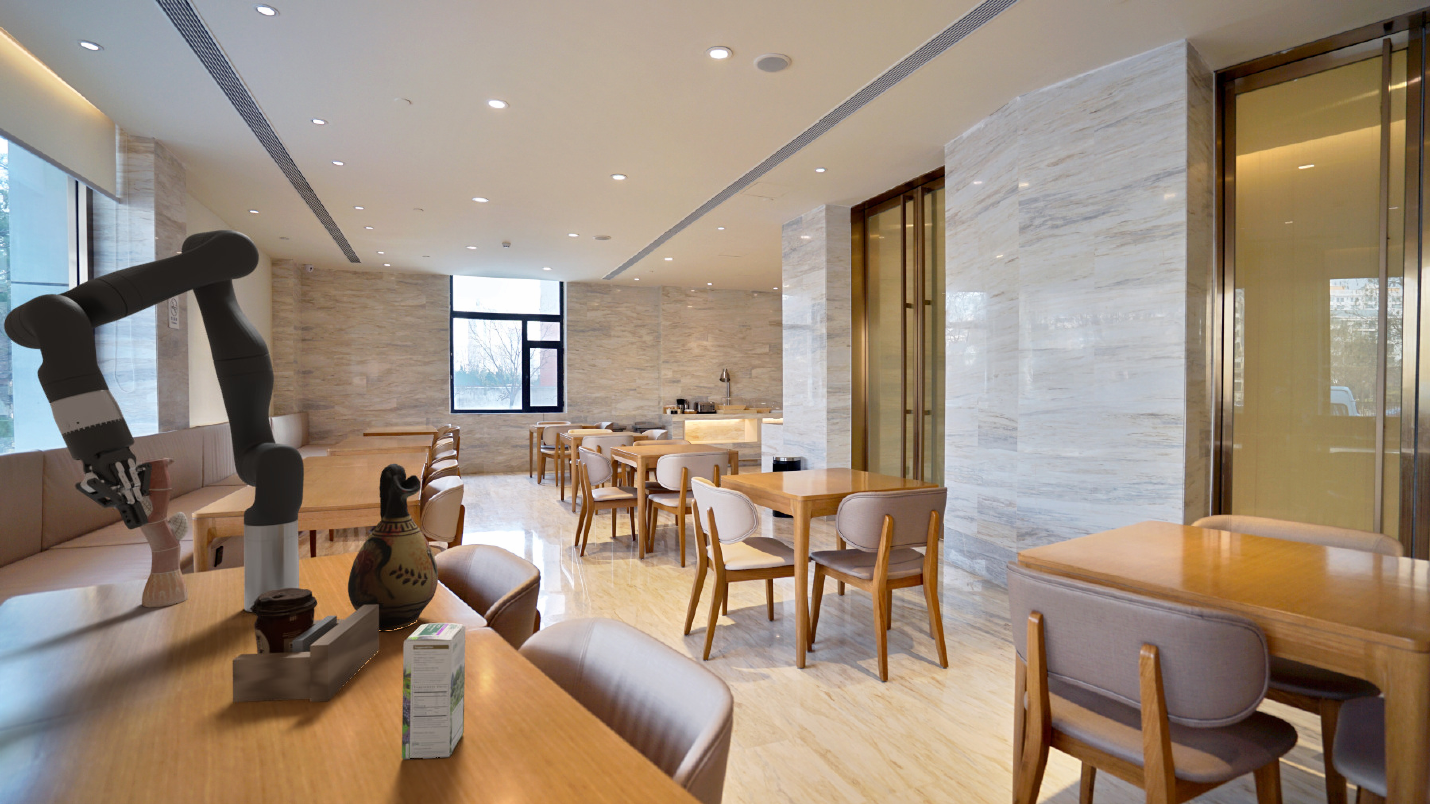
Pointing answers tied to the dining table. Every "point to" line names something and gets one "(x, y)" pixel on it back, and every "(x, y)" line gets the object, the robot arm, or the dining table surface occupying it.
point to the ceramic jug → (394, 558)
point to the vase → (163, 540)
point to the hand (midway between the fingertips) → (139, 526)
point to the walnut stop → (310, 663)
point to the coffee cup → (282, 618)
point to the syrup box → (433, 690)
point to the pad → (313, 634)
